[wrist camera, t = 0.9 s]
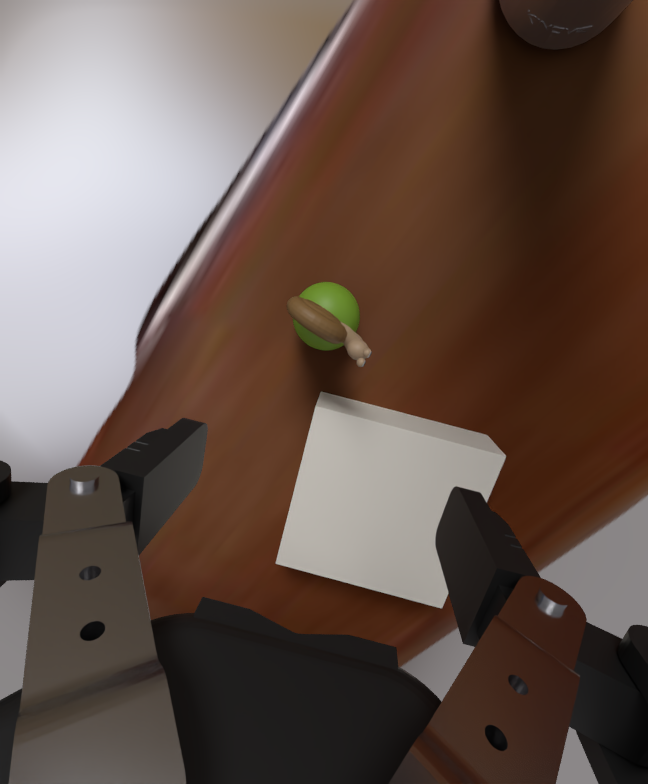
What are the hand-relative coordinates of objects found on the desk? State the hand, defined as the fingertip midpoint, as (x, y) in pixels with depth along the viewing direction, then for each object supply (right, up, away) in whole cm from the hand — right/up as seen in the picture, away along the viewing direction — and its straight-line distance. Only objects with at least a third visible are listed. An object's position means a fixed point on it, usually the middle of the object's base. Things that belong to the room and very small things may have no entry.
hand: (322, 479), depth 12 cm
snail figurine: (+1, +9, +21) cm, 23 cm away
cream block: (+6, -7, +26) cm, 27 cm away
